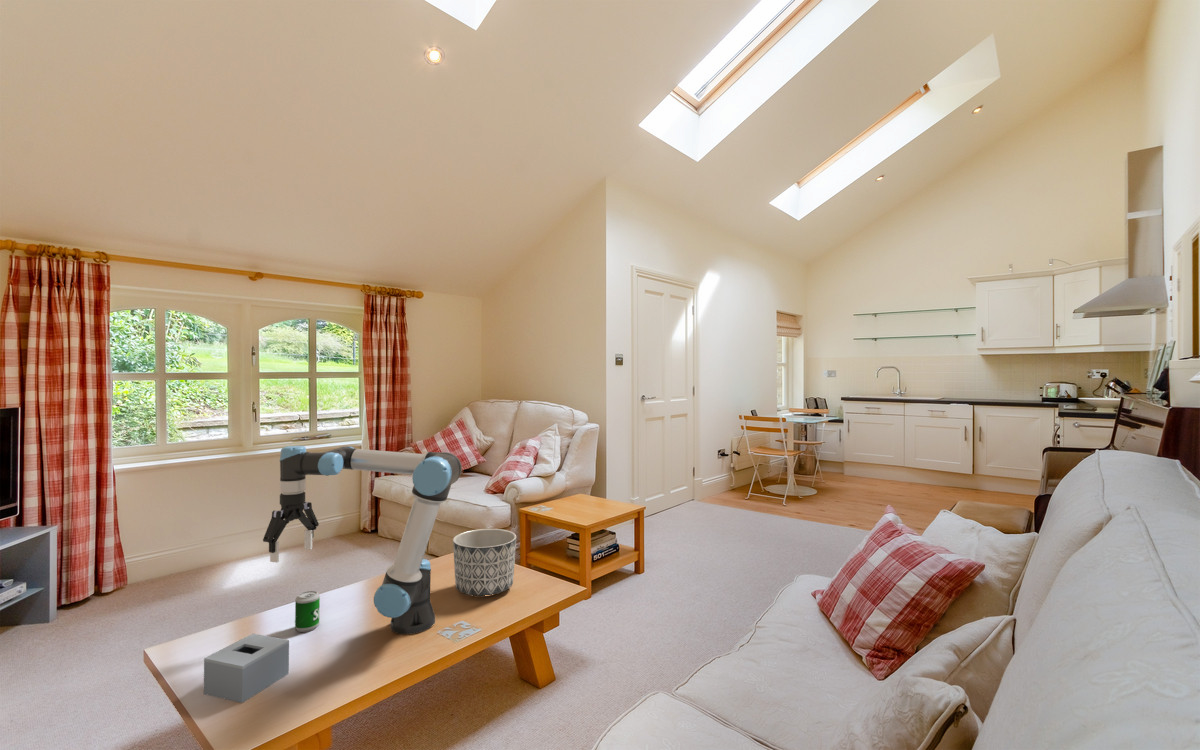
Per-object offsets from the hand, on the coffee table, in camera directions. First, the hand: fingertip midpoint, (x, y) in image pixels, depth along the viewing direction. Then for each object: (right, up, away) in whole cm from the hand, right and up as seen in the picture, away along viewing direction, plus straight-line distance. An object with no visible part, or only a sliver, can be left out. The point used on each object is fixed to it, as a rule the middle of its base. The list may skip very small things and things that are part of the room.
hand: (292, 555), depth 179 cm
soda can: (0, -29, +9) cm, 30 cm away
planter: (+55, -30, +44) cm, 77 cm away
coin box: (+2, -29, -25) cm, 38 cm away
